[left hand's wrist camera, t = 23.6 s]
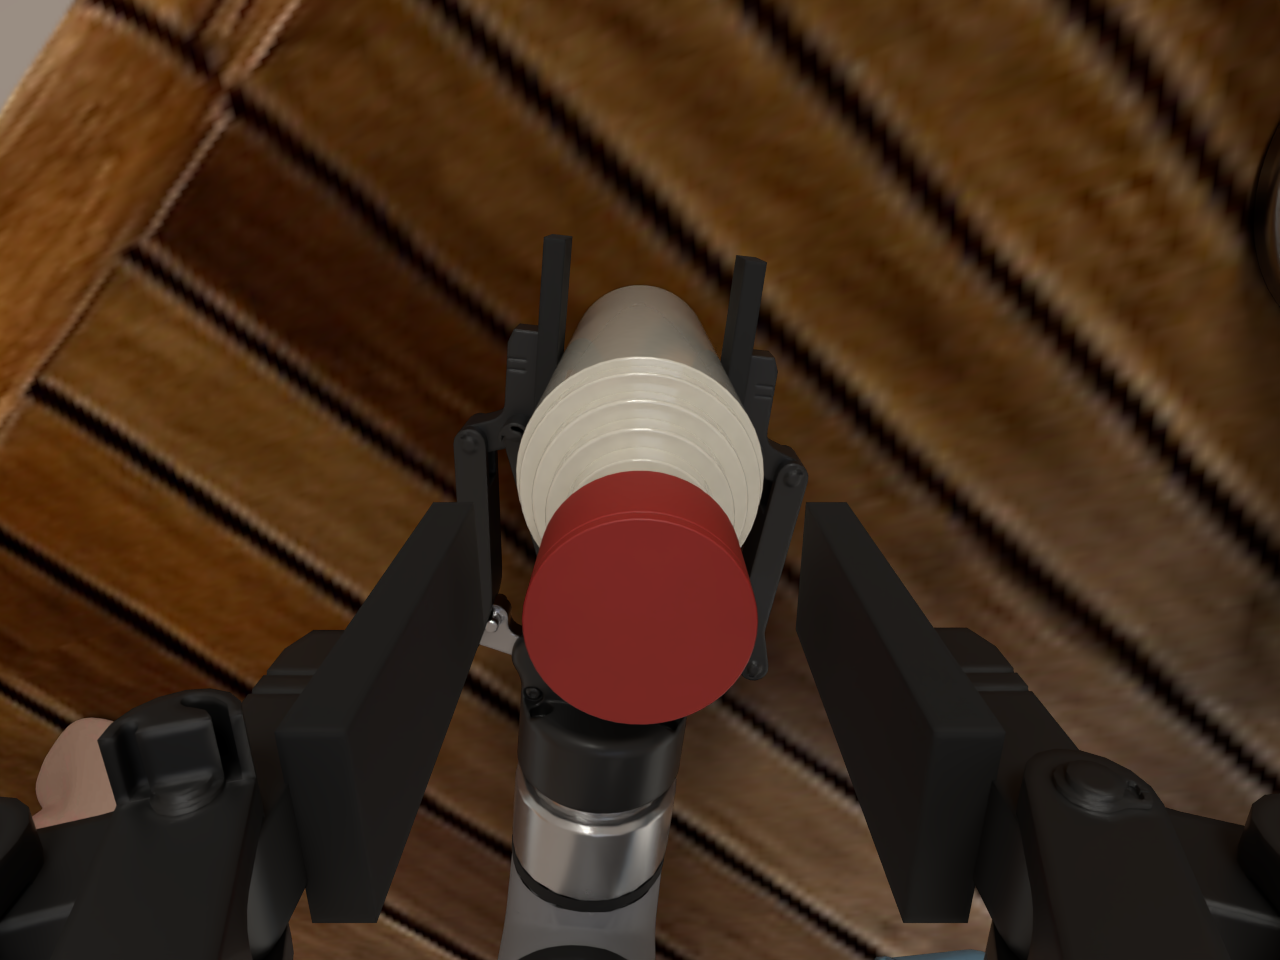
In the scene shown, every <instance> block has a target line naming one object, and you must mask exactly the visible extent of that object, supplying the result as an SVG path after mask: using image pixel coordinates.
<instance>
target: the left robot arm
mask: <svg viewBox="0 0 1280 960" xmlns="http://www.w3.org/2000/svg"><path fill="white" fill-rule="evenodd" d="M1254 239H1255V248H1256V254H1257V259H1258V263H1259V266H1260V269H1261V273H1262V276H1263V278H1264V280H1265V283H1266V285H1267V287H1268V289H1269V291H1270V293H1271V294H1272V296H1273V298H1274V299H1275V301H1276V303H1277V304H1278V305H1279V306H1280V124H1279V126H1278V128H1277V130H1276V132H1275V134H1274V136H1273V139H1272V141H1271V144H1270V146H1269V149H1268V151H1267V154H1266V157H1265V160H1264V163H1263V167H1262V170H1261V173H1260V177H1259V182H1258V187H1257V192H1256V199H1255V207H1254ZM483 631H484V621H483V609H482V596H481V584H480V572H479V559H478V547H477V535H476V522H475V510H474V502H433V504H432V505H431V507H430V508H429V510H428V511H427V512H426V514H425V515H424V517H423V518H422V520H421V521H420V523H419V524H418V525H417V527H416V528H415V530H414V531H413V533H412V534H411V536H410V537H409V538H408V540H407V541H406V543H405V544H404V546H403V547H402V548H401V550H400V551H399V553H398V554H397V556H396V557H395V559H394V560H393V561H392V563H391V564H390V566H389V567H388V569H387V570H386V572H385V573H384V574H383V576H382V577H381V579H380V580H379V582H378V583H377V585H376V586H375V587H374V589H373V590H372V592H371V593H370V595H369V596H368V598H367V599H366V600H365V602H364V603H363V605H362V606H361V608H360V609H359V611H358V612H357V613H356V615H355V616H354V618H353V619H352V621H351V622H350V623H349V625H348V626H347V628H346V629H345V630H313V631H311V632H310V633H308V634H307V635H305V636H304V637H302V638H301V639H299V640H298V641H296V642H294V643H293V644H291V645H290V646H288V647H287V648H285V649H284V650H283V652H282V653H281V654H280V655H279V657H278V658H277V659H276V660H275V662H274V663H273V664H272V665H271V667H270V668H269V669H268V670H267V675H263V677H262V678H261V679H260V680H259V682H258V683H257V684H256V685H255V687H254V688H253V689H252V694H248V695H247V697H246V698H245V699H244V700H243V702H242V703H241V701H240V700H239V699H237V698H236V697H235V696H234V695H232V694H231V693H230V692H226V691H221V690H216V689H211V688H210V689H195V690H184V691H181V692H177V693H173V694H169V695H165V696H161V697H158V698H156V699H153V700H151V701H149V702H147V703H144V704H142V705H140V706H138V707H135V708H133V709H131V710H130V711H129V712H127V713H126V714H124V715H123V716H121V717H120V718H118V719H117V720H115V721H114V722H113V723H111V724H110V725H109V726H108V728H107V729H106V730H105V731H104V732H103V734H102V735H101V736H100V737H99V738H98V740H97V742H98V745H99V748H100V752H101V755H102V758H103V762H104V765H105V768H106V772H107V775H108V779H109V782H110V785H111V789H112V792H113V795H114V799H115V802H116V808H115V810H114V811H112V812H109V813H105V814H102V815H98V816H93V817H89V818H84V819H80V820H75V821H71V822H66V823H62V824H57V825H53V826H48V827H44V828H39V829H36V827H35V824H34V821H33V818H32V816H31V813H30V810H29V807H28V806H26V805H25V804H24V803H22V802H21V801H19V800H18V799H17V798H8V797H0V960H293V954H294V952H293V945H292V938H291V932H290V928H289V923H288V922H289V920H290V918H291V916H292V914H293V912H294V909H295V907H296V905H297V903H298V901H299V899H300V897H301V895H302V893H303V891H304V889H306V894H307V899H308V904H309V909H310V914H311V919H312V923H377V920H378V918H379V915H380V912H381V909H382V907H383V904H384V901H385V898H386V896H387V893H388V890H389V888H390V885H391V882H392V879H393V877H394V874H395V871H396V868H397V866H398V863H399V860H400V858H401V855H402V852H403V849H404V847H405V844H406V841H407V838H408V836H409V833H410V830H411V828H412V825H413V822H414V819H415V817H416V814H417V811H418V808H419V806H420V803H421V800H422V798H423V795H424V792H425V789H426V787H427V784H428V781H429V778H430V776H431V773H432V770H433V768H434V765H435V762H436V759H437V757H438V754H439V751H440V748H441V746H442V743H443V740H444V738H445V735H446V732H447V729H448V727H449V724H450V721H451V718H452V716H453V713H454V710H455V708H456V705H457V702H458V699H459V697H460V694H461V691H462V688H463V686H464V683H465V680H466V678H467V675H468V672H469V669H470V667H471V664H472V661H473V658H474V656H475V653H476V650H477V648H478V645H479V642H480V639H481V637H482V634H483ZM796 631H797V634H798V637H799V639H800V642H801V645H802V648H803V650H804V653H805V656H806V658H807V661H808V664H809V667H810V669H811V672H812V675H813V678H814V680H815V683H816V686H817V688H818V691H819V694H820V697H821V699H822V702H823V705H824V708H825V710H826V713H827V716H828V718H829V721H830V724H831V727H832V729H833V732H834V735H835V738H836V740H837V743H838V746H839V748H840V751H841V754H842V757H843V759H844V762H845V765H846V768H847V770H848V773H849V776H850V778H851V781H852V784H853V787H854V789H855V792H856V795H857V798H858V800H859V803H860V806H861V808H862V811H863V814H864V817H865V819H866V822H867V825H868V828H869V830H870V833H871V836H872V838H873V841H874V844H875V847H876V849H877V852H878V855H879V858H880V860H881V863H882V866H883V868H884V871H885V874H886V877H887V879H888V882H889V885H890V888H891V890H892V893H893V896H894V898H895V901H896V904H897V907H898V909H899V912H900V915H901V918H902V920H903V923H968V919H969V914H970V909H971V904H972V899H973V894H974V889H975V885H976V887H977V889H978V891H979V893H980V895H981V897H982V900H983V902H984V904H985V906H986V908H987V910H988V912H989V914H990V916H991V918H992V923H991V928H990V932H989V937H988V942H987V946H986V951H985V956H984V960H1280V794H1270V795H1264V796H1263V797H1261V798H1260V799H1259V800H1257V801H1256V802H1254V803H1253V804H1252V807H1251V810H1250V813H1249V816H1248V818H1247V821H1246V824H1245V826H1243V825H1238V824H1234V823H1229V822H1225V821H1220V820H1215V819H1211V818H1206V817H1202V816H1197V815H1193V814H1188V813H1184V812H1179V811H1176V810H1173V809H1169V808H1166V807H1165V806H1164V804H1163V803H1162V801H1161V800H1160V798H1159V797H1158V796H1157V794H1156V793H1155V791H1154V790H1153V789H1152V787H1151V786H1150V785H1148V784H1147V783H1146V782H1145V781H1143V780H1142V779H1141V778H1140V777H1138V776H1137V775H1136V774H1134V773H1133V772H1132V771H1131V770H1129V769H1127V768H1125V767H1123V766H1121V765H1119V764H1117V763H1115V762H1113V761H1111V760H1109V759H1107V758H1104V757H1101V756H1098V755H1094V754H1091V753H1087V752H1084V751H1081V750H1079V749H1078V748H1077V747H1076V745H1075V744H1074V743H1073V742H1072V740H1071V739H1070V738H1069V737H1068V736H1067V734H1066V733H1065V732H1064V731H1063V729H1062V728H1061V727H1060V726H1059V724H1058V723H1057V722H1056V721H1055V719H1054V718H1053V717H1052V716H1051V714H1050V713H1049V712H1048V711H1047V709H1046V708H1045V707H1044V706H1043V704H1042V703H1041V702H1040V701H1039V699H1038V698H1037V697H1036V696H1035V695H1034V693H1033V692H1032V691H1028V686H1027V685H1026V683H1025V682H1024V681H1023V680H1022V678H1021V677H1020V676H1019V675H1018V673H1014V671H1013V667H1012V666H1011V665H1010V663H1009V662H1008V661H1007V660H1006V659H1005V657H1004V656H1003V655H1002V654H1001V652H1000V651H999V650H998V649H997V647H996V646H994V645H993V644H991V643H990V642H988V641H987V640H985V639H984V638H982V637H981V636H979V635H977V634H976V633H974V632H973V631H971V630H970V629H968V628H933V626H932V625H931V623H930V622H929V621H928V619H927V618H926V616H925V615H924V613H923V612H922V611H921V609H920V608H919V606H918V605H917V603H916V602H915V600H914V599H913V598H912V596H911V595H910V593H909V592H908V590H907V589H906V587H905V586H904V585H903V583H902V582H901V580H900V579H899V577H898V576H897V574H896V573H895V572H894V570H893V569H892V567H891V566H890V564H889V563H888V561H887V560H886V559H885V557H884V556H883V554H882V553H881V551H880V550H879V548H878V547H877V546H876V544H875V543H874V541H873V540H872V538H871V537H870V536H869V534H868V533H867V531H866V530H865V528H864V527H863V525H862V524H861V523H860V521H859V520H858V518H857V517H856V515H855V514H854V512H853V511H852V510H851V508H850V507H849V505H848V504H847V502H806V510H805V522H804V535H803V547H802V559H801V572H800V584H799V596H798V609H797V621H796Z"/></svg>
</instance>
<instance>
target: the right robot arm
mask: <svg viewBox="0 0 1280 960" xmlns="http://www.w3.org/2000/svg"><path fill="white" fill-rule="evenodd" d="M571 247H572V236H564V235H555V234H552V235H549V236H546V237H544V245H543V261H542V277H541V293H540V309H539V325H538V326H537V325H528V324H519V325H518V326H517V327H516V328H515V329H514V331H513V333H512V335H511V337H510V339H509V341H508V353H507V373H506V393H505V406H504V408H503V409H501V410H499V411H496V412H491V413H487V414H484V413H478V414H475V415H473V416H471V417H470V419H469V420H468V421H467V422H466V424H465V425H464V426H463V427H462V429H461V430H460V431H459V432H458V434H457V435H456V437H455V438H454V458H455V475H456V491H457V502H474V510H475V522H476V535H477V547H478V559H479V572H480V584H481V596H482V609H483V621H484V631H483V634H482V637H481V639H480V642H479V644H480V645H483V646H486V647H489V648H492V649H496V650H499V651H502V652H505V653H508V654H511V655H512V661H513V664H514V666H515V668H516V670H517V671H518V673H519V675H520V678H521V683H522V691H521V706H520V721H519V736H518V760H519V761H518V765H517V770H516V778H515V796H514V814H513V835H512V861H511V870H510V880H509V890H508V901H507V909H506V917H505V924H504V930H503V935H502V940H501V946H500V951H499V956H498V960H655V924H656V912H657V903H658V895H659V886H660V878H661V869H662V865H663V861H664V855H665V850H666V846H667V842H668V835H669V829H670V823H671V816H672V810H673V804H674V797H675V790H676V776H677V773H678V769H679V764H680V757H681V751H682V745H683V738H684V732H685V726H686V719H687V716H685V717H682V718H679V719H676V720H672V721H668V722H663V723H656V724H625V723H616V722H612V721H608V720H604V719H600V718H598V717H595V716H592V715H589V714H587V713H585V712H583V711H581V710H579V709H577V708H575V707H574V706H572V705H571V704H569V703H567V702H566V701H564V700H563V699H562V698H561V697H560V696H558V695H557V694H556V693H555V692H554V691H553V690H552V689H551V688H550V687H549V686H548V685H547V684H546V683H545V682H544V680H543V679H542V678H541V676H540V675H539V673H538V672H537V671H536V669H535V667H534V665H533V663H532V661H531V659H530V657H529V654H528V652H527V649H526V646H525V642H524V636H523V631H522V626H521V625H519V624H517V623H516V622H515V621H514V620H513V618H512V616H511V604H510V602H509V601H508V600H507V597H506V596H505V595H503V594H498V592H499V588H500V585H501V578H502V554H501V528H500V503H499V478H498V453H497V450H500V449H504V448H506V452H507V455H508V458H509V462H510V465H511V469H512V472H513V476H514V479H515V483H516V486H517V480H516V465H517V456H518V451H519V447H520V443H521V439H522V436H523V434H524V431H525V429H526V426H527V424H528V422H529V420H530V418H531V416H532V414H533V412H534V410H535V408H536V406H537V404H538V402H539V401H540V399H541V397H542V395H543V393H544V391H545V389H546V387H547V385H548V383H549V381H550V379H551V377H552V375H553V373H554V371H555V369H556V367H557V365H558V364H559V362H560V360H561V358H562V356H563V354H564V341H565V328H566V314H567V301H568V287H569V274H570V261H571ZM766 265H767V262H765V261H762V260H760V259H758V258H756V257H748V256H739V255H736V261H735V268H734V274H733V281H732V288H731V295H730V302H729V308H728V315H727V322H726V329H725V335H724V342H723V349H722V356H721V364H722V366H723V368H724V370H725V372H726V374H727V376H728V378H729V380H730V381H731V383H732V385H733V387H734V389H735V391H736V393H737V395H738V397H739V399H740V401H741V403H742V405H743V407H744V409H745V411H746V413H747V415H748V417H749V419H750V421H751V422H752V424H753V426H754V428H755V431H756V434H757V437H758V439H759V442H760V446H761V451H762V456H763V467H764V479H763V490H762V495H761V499H760V504H759V507H758V511H757V515H756V518H755V521H754V523H753V526H752V529H751V531H750V533H749V534H748V536H747V538H746V540H745V544H744V548H743V552H742V555H743V558H744V562H745V565H746V569H747V572H748V575H749V579H750V582H751V586H752V589H753V592H754V596H755V601H756V605H757V614H758V628H757V637H756V641H755V645H754V649H753V651H752V654H751V657H750V659H749V661H748V663H747V665H746V667H745V668H744V670H743V672H742V675H743V676H744V677H745V678H746V679H749V680H758V679H761V678H762V677H764V676H765V675H766V673H767V672H768V660H767V652H766V643H765V635H764V632H765V628H766V625H767V621H768V618H769V614H770V611H771V607H772V604H773V600H774V597H775V593H776V590H777V587H778V583H779V580H780V576H781V573H782V569H783V566H784V562H785V559H786V555H787V552H788V548H789V545H790V541H791V538H792V534H793V531H794V527H795V524H796V520H797V517H798V513H799V510H800V506H801V503H802V499H803V496H804V493H805V489H806V486H807V482H808V474H807V471H806V469H805V467H804V466H803V464H802V463H801V461H800V459H799V458H798V456H797V455H796V453H795V451H794V450H793V449H792V448H791V447H789V446H786V445H780V444H778V443H776V442H774V441H772V440H770V439H769V438H767V430H768V424H769V418H770V413H771V407H772V401H773V395H774V390H775V384H776V378H777V372H778V371H777V367H776V362H775V358H774V357H773V356H772V354H771V353H770V352H769V351H763V350H754V349H753V346H754V340H755V333H756V327H757V321H758V315H759V309H760V302H761V296H762V290H763V284H764V278H765V271H766ZM529 531H530V530H529ZM530 534H531V532H530ZM531 538H532V541H533V544H534V548H535V551H536V555H538V552H539V546H538V545H537V543H536V542H535V540H534V539H533V537H532V535H531ZM478 646H479V645H478ZM984 956H985V952H983V951H978V950H972V949H970V950H958V951H949V952H940V953H931V954H921V955H912V956H903V957H894V958H891V957H887V956H881V957H876V958H875V960H984Z"/></svg>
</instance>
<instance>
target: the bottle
mask: <svg viewBox="0 0 1280 960" xmlns="http://www.w3.org/2000/svg"><path fill="white" fill-rule="evenodd" d="M626 471H654V472H661V473H665V474H669V475H673V476H676V477H679V478H681V479H683V480H686V481H688V482H690V483H692V484H693V485H695V486H697V487H699V488H700V489H702V490H703V491H704V492H706V493H707V494H708V495H710V496H711V497H712V498H713V499H714V500H715V501H716V502H717V503H718V504H719V505H720V507H721V508H722V509H723V511H724V512H725V513H726V515H727V516H728V518H729V520H730V522H731V523H732V525H733V527H734V530H735V532H736V535H737V538H738V541H739V545H740V548H741V546H742V545H743V543H744V542H745V540H746V538H747V536H748V534H749V533H750V531H751V529H752V526H753V523H754V521H755V518H756V515H757V511H758V507H759V504H760V499H761V495H762V490H763V479H764V467H763V456H762V451H761V446H760V442H759V439H758V437H757V434H756V431H755V428H754V426H753V424H752V422H751V421H750V419H749V417H748V415H747V413H746V411H745V409H744V407H743V405H742V403H741V401H740V399H739V397H738V395H737V393H736V391H735V389H734V387H733V385H732V383H731V381H730V380H729V378H728V376H727V374H726V372H725V370H724V368H723V366H722V364H721V362H720V360H719V358H718V356H717V354H716V352H715V350H714V348H713V346H712V344H711V342H710V340H709V338H708V337H707V335H706V333H705V331H704V329H703V327H702V325H701V323H700V321H699V319H698V317H697V316H696V314H695V313H694V312H693V310H692V309H691V308H690V307H689V306H688V305H687V304H686V303H685V302H684V301H683V300H681V299H680V298H679V297H677V296H676V295H674V294H672V293H670V292H668V291H666V290H664V289H660V288H657V287H652V286H645V285H635V286H627V287H623V288H619V289H617V290H614V291H612V292H610V293H608V294H606V295H604V296H603V297H601V298H600V299H599V300H597V301H596V302H595V303H594V304H593V305H592V306H591V307H590V308H589V309H588V310H587V312H586V313H585V314H584V316H583V317H582V319H581V321H580V323H579V325H578V326H577V328H576V330H575V332H574V334H573V336H572V338H571V340H570V342H569V344H568V346H567V348H566V350H565V352H564V354H563V356H562V358H561V360H560V362H559V364H558V365H557V367H556V369H555V371H554V373H553V375H552V377H551V379H550V381H549V383H548V385H547V387H546V389H545V391H544V393H543V395H542V397H541V399H540V401H539V402H538V404H537V406H536V408H535V410H534V412H533V414H532V416H531V418H530V420H529V422H528V424H527V426H526V429H525V431H524V434H523V436H522V439H521V443H520V447H519V451H518V456H517V465H516V480H517V489H518V495H519V500H520V503H521V506H522V511H523V515H524V518H525V521H526V524H527V526H528V528H529V530H530V532H531V535H532V537H533V539H534V540H535V542H536V543H537V545H538V546H539V548H540V545H541V541H542V538H543V535H544V532H545V530H546V527H547V525H548V523H549V521H550V520H551V518H552V516H553V515H554V513H555V512H556V510H557V509H558V508H559V507H560V506H561V504H562V503H563V502H564V501H565V500H566V499H567V498H568V497H569V496H571V495H572V494H573V493H574V492H576V491H577V490H578V489H580V488H581V487H583V486H584V485H586V484H588V483H590V482H592V481H594V480H596V479H599V478H602V477H604V476H607V475H611V474H615V473H619V472H626Z"/></svg>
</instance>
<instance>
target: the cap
mask: <svg viewBox="0 0 1280 960" xmlns="http://www.w3.org/2000/svg"><path fill="white" fill-rule="evenodd" d="M757 628H758V614H757V605H756V601H755V596H754V592H753V589H752V586H751V582H750V579H749V575H748V572H747V569H746V565H745V562H744V558H743V555H742V551H741V548H740V545H739V541H738V538H737V535H736V532H735V530H734V527H733V525H732V523H731V522H730V520H729V518H728V516H727V515H726V513H725V512H724V511H723V509H722V508H721V507H720V505H719V504H718V503H717V502H716V501H715V500H714V499H713V498H712V497H711V496H710V495H708V494H707V493H706V492H704V491H703V490H702V489H700V488H699V487H697V486H695V485H693V484H692V483H690V482H688V481H686V480H683V479H681V478H679V477H676V476H673V475H669V474H665V473H661V472H654V471H626V472H619V473H615V474H611V475H607V476H604V477H602V478H599V479H596V480H594V481H592V482H590V483H588V484H586V485H584V486H583V487H581V488H580V489H578V490H577V491H576V492H574V493H573V494H572V495H571V496H569V497H568V498H567V499H566V500H565V501H564V502H563V503H562V504H561V506H560V507H559V508H558V509H557V510H556V512H555V513H554V515H553V516H552V518H551V520H550V521H549V523H548V525H547V527H546V530H545V532H544V535H543V538H542V541H541V545H540V548H539V552H538V555H537V558H536V562H535V565H534V569H533V572H532V575H531V579H530V582H529V586H528V589H527V593H526V597H525V600H524V604H523V613H522V631H523V636H524V642H525V646H526V649H527V652H528V654H529V657H530V659H531V661H532V663H533V665H534V667H535V669H536V671H537V672H538V673H539V675H540V676H541V678H542V679H543V680H544V682H545V683H546V684H547V685H548V686H549V687H550V688H551V689H552V690H553V691H554V692H555V693H556V694H557V695H558V696H560V697H561V698H562V699H563V700H564V701H566V702H567V703H569V704H571V705H572V706H574V707H575V708H577V709H579V710H581V711H583V712H585V713H587V714H589V715H592V716H595V717H598V718H600V719H604V720H608V721H612V722H616V723H625V724H656V723H663V722H668V721H672V720H676V719H679V718H682V717H685V716H688V715H690V714H693V713H695V712H697V711H699V710H701V709H703V708H705V707H706V706H708V705H709V704H711V703H713V702H714V701H715V700H717V699H718V698H719V697H720V696H722V695H723V694H724V693H725V692H726V691H727V690H728V689H729V688H730V687H731V686H732V685H733V684H734V683H735V682H736V680H737V679H738V678H739V676H740V675H741V674H742V672H743V670H744V668H745V667H746V665H747V663H748V661H749V659H750V657H751V654H752V651H753V649H754V645H755V641H756V637H757Z"/></svg>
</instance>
